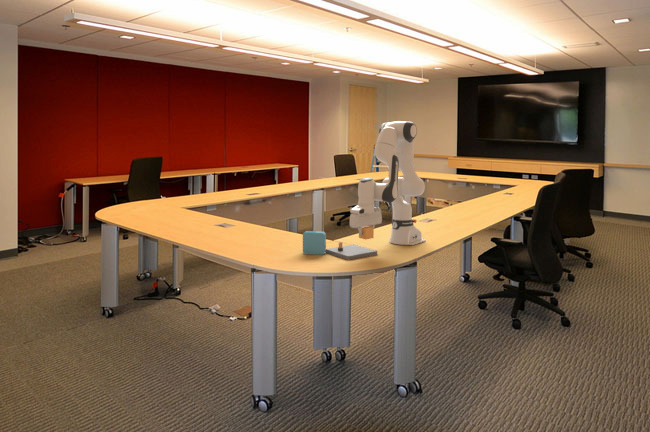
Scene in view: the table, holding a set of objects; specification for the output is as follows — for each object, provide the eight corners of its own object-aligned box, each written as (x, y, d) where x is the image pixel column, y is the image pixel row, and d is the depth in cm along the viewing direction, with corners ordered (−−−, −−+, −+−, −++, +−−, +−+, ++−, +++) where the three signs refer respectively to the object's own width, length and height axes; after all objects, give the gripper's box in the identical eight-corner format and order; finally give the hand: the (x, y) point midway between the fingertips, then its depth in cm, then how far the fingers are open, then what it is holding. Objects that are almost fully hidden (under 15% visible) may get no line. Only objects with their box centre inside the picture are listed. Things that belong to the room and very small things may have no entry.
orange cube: (366, 236, 280) (366, 225, 279) (373, 238, 276) (373, 227, 275) (358, 237, 277) (358, 226, 276) (365, 239, 272) (365, 228, 271)
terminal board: (353, 247, 293) (353, 236, 292) (377, 254, 277) (377, 242, 276) (325, 252, 281) (325, 241, 280) (348, 260, 265) (348, 247, 264)
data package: (325, 253, 281) (325, 231, 278) (324, 255, 276) (324, 233, 274) (304, 252, 283) (304, 230, 281) (302, 254, 278) (302, 232, 276)
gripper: (376, 205, 282) (376, 230, 284) (347, 209, 270) (347, 235, 273) (384, 207, 277) (384, 232, 279) (355, 211, 265) (355, 237, 268)
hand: (366, 233), depth 276 cm, fingers closed on orange cube, 6 cm apart
